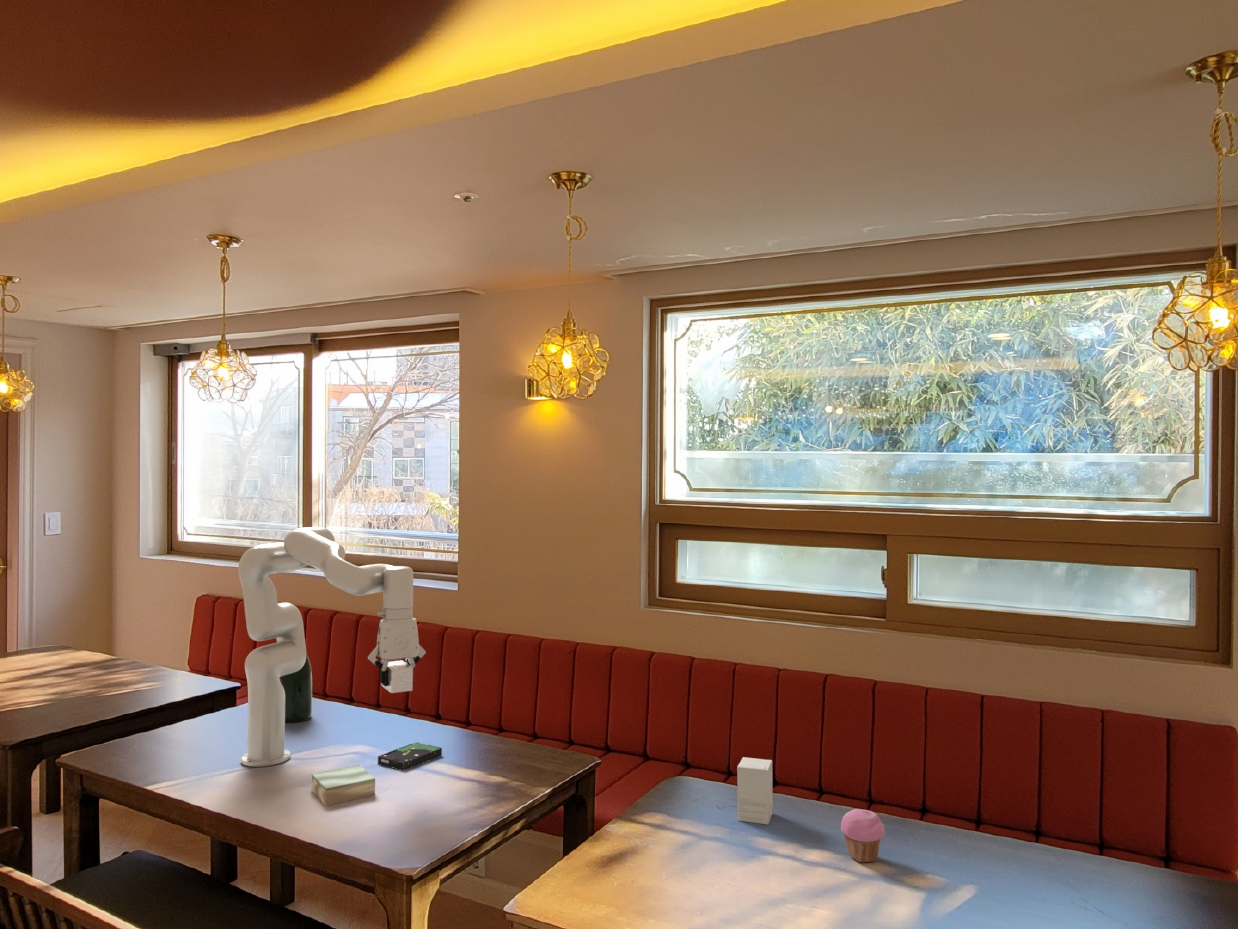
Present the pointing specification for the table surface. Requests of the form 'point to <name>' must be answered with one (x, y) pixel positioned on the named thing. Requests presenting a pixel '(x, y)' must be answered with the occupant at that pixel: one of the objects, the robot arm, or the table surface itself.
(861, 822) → the cupcake
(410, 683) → the block
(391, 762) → the disk drive
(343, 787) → the stand
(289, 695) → the beer bottle
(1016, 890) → the table surface
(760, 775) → the supplement box
